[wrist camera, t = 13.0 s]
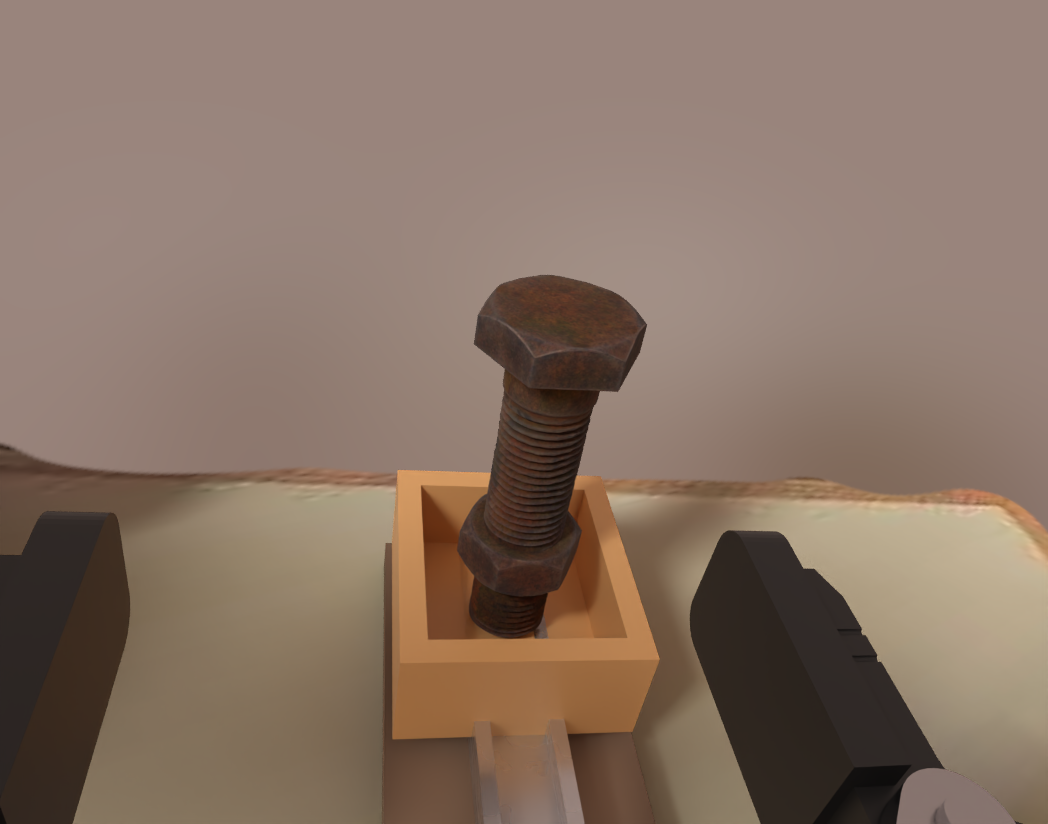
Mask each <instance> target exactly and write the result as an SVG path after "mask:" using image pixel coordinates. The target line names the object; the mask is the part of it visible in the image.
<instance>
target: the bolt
mask: <svg viewBox="0 0 1048 824" xmlns="http://www.w3.org/2000/svg"><path fill="white" fill-rule="evenodd" d="M646 327H647V324H646V323H645V321H644V320H643V319H642V317H641V316H640V315H639V313H638V312H637V311H636V310H635V309H634V308H633V306H631V304H630V303H629V302H627V300H625V299H624V298H622V297H621V296H620V295H618V294H616V293H614V292H612V291H610V290H607V289H604V288H601V287H598V286H596V285H593V284H590V283H587V282H582V281H578V280H574V279H570V278H565V277H561V276H554V275H538V276H532V277H526V278H519V279H516V280H513V281H509V282H506V283H503V284H501V285H499V286H498V287H497V288H496V289H495V290H494V291H493V293H492V294H491V295H490V297H489V298H488V299H487V301H486V302H485V304H484V306H483V307H482V309H481V311H480V313H479V314H478V319H477V326H476V333H475V340H474V345H476V346H477V347H478V348H480V349H481V350H482V351H483V352H485V353H486V354H487V355H489V356H490V357H491V358H492V359H493V360H495V361H496V362H497V363H498V364H500V365H501V366H502V367H503V368H505V372H504V379H503V387H504V397H503V400H502V408H501V413H500V421H499V429H498V437H497V443H496V449H495V451H494V458H493V464H492V469H491V470H492V471H491V475H490V480H489V485H488V492H487V494H485V495H483V496H482V497H481V498H480V499H479V500H478V501H477V502H476V503H475V504H474V506H473V507H472V509H471V511H470V512H469V514H468V516H467V517H466V519H465V521H464V523H463V525H462V527H461V529H460V533H459V540H458V547H457V552H458V553H459V555H460V557H461V558H462V560H463V562H464V563H465V565H466V566H467V568H468V569H469V570H470V571H471V573H472V574H473V575H474V580H473V586H472V593H471V597H470V603H469V614H470V617H471V619H472V621H473V622H474V623H475V624H476V625H477V626H478V627H480V628H481V629H483V630H484V631H486V632H488V633H490V634H492V635H495V636H498V637H505V638H512V637H518V636H522V635H526V634H529V633H531V632H533V631H534V630H536V629H537V628H538V626H539V625H540V623H541V621H542V618H543V613H544V607H545V604H546V599H547V596H548V593H549V592H552V591H556V590H558V589H559V587H560V586H561V584H562V583H563V581H564V579H565V577H566V575H567V573H568V570H569V568H570V566H571V564H572V561H573V559H574V556H575V554H576V551H577V548H578V544H579V540H580V536H581V533H582V530H581V528H580V527H579V525H578V524H577V522H576V521H575V519H574V518H573V516H572V515H571V514H570V513H569V511H568V509H569V505H570V500H571V497H572V492H573V489H574V485H575V480H576V476H577V472H578V468H579V464H580V460H581V456H582V452H583V446H584V443H585V439H586V433H587V430H588V425H589V423H590V416H591V413H592V409H593V407H594V405H595V404H596V402H597V400H598V396H599V392H600V391H614V392H618V391H619V389H620V387H621V385H622V384H623V382H624V380H625V378H626V376H627V375H628V373H629V371H630V369H631V367H632V365H633V364H634V362H635V360H636V358H637V356H638V355H639V353H640V350H641V346H642V342H643V338H644V334H645V331H646Z"/></svg>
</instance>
